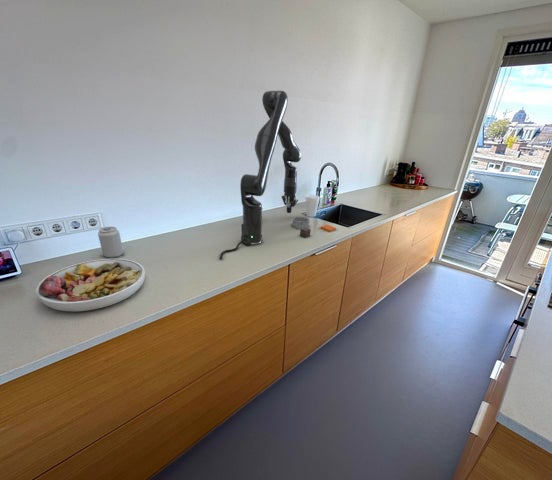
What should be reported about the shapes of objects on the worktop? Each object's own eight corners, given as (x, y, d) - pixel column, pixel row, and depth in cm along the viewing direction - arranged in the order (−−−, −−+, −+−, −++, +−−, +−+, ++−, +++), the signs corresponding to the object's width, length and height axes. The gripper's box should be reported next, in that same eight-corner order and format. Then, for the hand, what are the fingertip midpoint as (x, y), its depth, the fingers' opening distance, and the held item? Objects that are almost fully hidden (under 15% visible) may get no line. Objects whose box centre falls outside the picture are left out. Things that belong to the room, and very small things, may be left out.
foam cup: (313, 218, 190) (315, 199, 184) (301, 215, 194) (303, 196, 188) (320, 215, 197) (322, 196, 192) (308, 212, 201) (309, 194, 196)
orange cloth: (329, 231, 169) (329, 229, 168) (320, 228, 173) (320, 226, 172) (335, 229, 172) (336, 227, 172) (326, 226, 177) (327, 224, 176)
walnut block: (305, 237, 157) (305, 230, 155) (299, 235, 159) (300, 228, 158) (310, 236, 160) (310, 229, 158) (304, 234, 162) (305, 227, 160)
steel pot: (300, 230, 167) (301, 222, 165) (289, 225, 174) (289, 218, 172) (312, 227, 174) (312, 219, 172) (300, 222, 180) (301, 215, 178)
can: (120, 249, 128) (115, 224, 123) (126, 255, 123) (120, 229, 118) (101, 254, 123) (94, 227, 118) (106, 260, 119) (99, 233, 113)
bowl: (125, 262, 118) (121, 245, 114) (162, 290, 101) (159, 270, 98) (30, 289, 96) (21, 269, 93) (57, 330, 80) (48, 307, 76)
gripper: (278, 183, 172) (277, 211, 180) (293, 187, 164) (291, 216, 172) (287, 181, 177) (286, 209, 185) (302, 186, 169) (300, 214, 177)
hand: (288, 212), depth 178 cm, fingers closed
